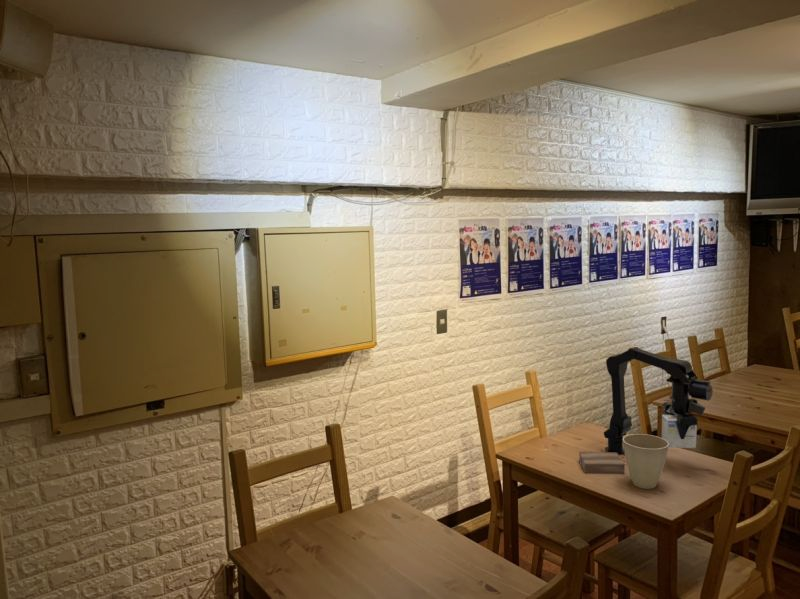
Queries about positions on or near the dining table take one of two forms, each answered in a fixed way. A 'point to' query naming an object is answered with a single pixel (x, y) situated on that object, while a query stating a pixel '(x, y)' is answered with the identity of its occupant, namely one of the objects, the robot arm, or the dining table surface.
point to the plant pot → (645, 458)
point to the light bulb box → (677, 433)
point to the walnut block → (601, 462)
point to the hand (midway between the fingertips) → (678, 435)
